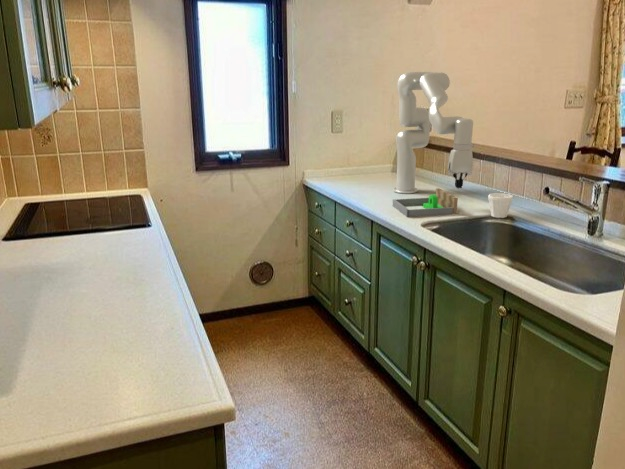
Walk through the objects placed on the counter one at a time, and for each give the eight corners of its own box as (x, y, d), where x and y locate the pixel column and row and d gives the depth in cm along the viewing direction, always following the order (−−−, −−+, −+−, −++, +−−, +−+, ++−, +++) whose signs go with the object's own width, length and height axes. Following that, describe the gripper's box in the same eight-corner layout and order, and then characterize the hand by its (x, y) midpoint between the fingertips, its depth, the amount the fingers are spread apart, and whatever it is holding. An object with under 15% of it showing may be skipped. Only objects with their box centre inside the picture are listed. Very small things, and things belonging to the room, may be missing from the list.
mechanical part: (445, 213, 233) (446, 195, 230) (432, 214, 232) (433, 196, 230) (435, 206, 244) (436, 189, 242) (422, 207, 243) (423, 190, 241)
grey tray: (392, 205, 247) (392, 199, 246) (434, 203, 250) (435, 197, 249) (407, 217, 227) (407, 210, 226) (452, 214, 230) (453, 207, 229)
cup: (516, 217, 223) (518, 196, 220) (500, 221, 218) (502, 199, 215) (497, 212, 231) (499, 191, 229) (481, 216, 226) (483, 194, 224)
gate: (435, 202, 250) (436, 188, 248) (438, 202, 250) (439, 188, 248) (453, 213, 230) (454, 198, 228) (456, 213, 230) (457, 197, 228)
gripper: (474, 145, 238) (470, 185, 243) (442, 146, 235) (439, 186, 241) (481, 148, 231) (477, 189, 236) (449, 149, 228) (446, 190, 234)
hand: (458, 187), depth 239 cm, fingers closed
